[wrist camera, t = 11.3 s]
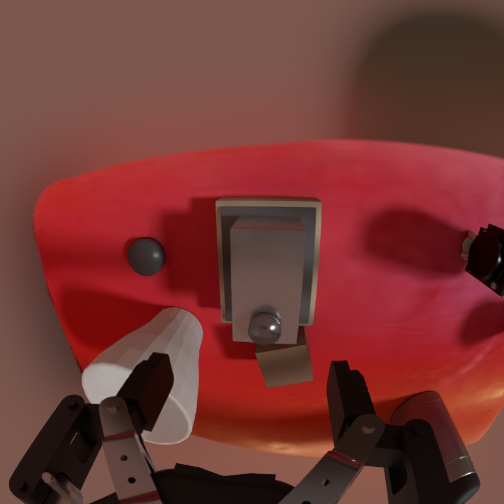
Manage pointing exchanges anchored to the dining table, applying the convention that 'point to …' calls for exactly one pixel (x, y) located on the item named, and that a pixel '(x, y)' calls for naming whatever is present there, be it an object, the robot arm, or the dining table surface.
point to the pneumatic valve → (486, 257)
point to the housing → (266, 278)
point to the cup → (140, 348)
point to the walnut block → (285, 361)
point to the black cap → (146, 256)
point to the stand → (278, 207)
